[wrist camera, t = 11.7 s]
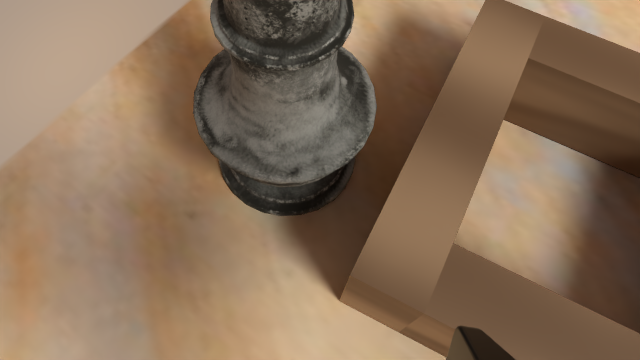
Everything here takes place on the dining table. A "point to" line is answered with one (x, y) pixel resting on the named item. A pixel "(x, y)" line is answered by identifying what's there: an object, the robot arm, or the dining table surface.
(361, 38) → the dining table surface
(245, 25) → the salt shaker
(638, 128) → the holder
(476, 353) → the robot arm
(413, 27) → the dining table surface
